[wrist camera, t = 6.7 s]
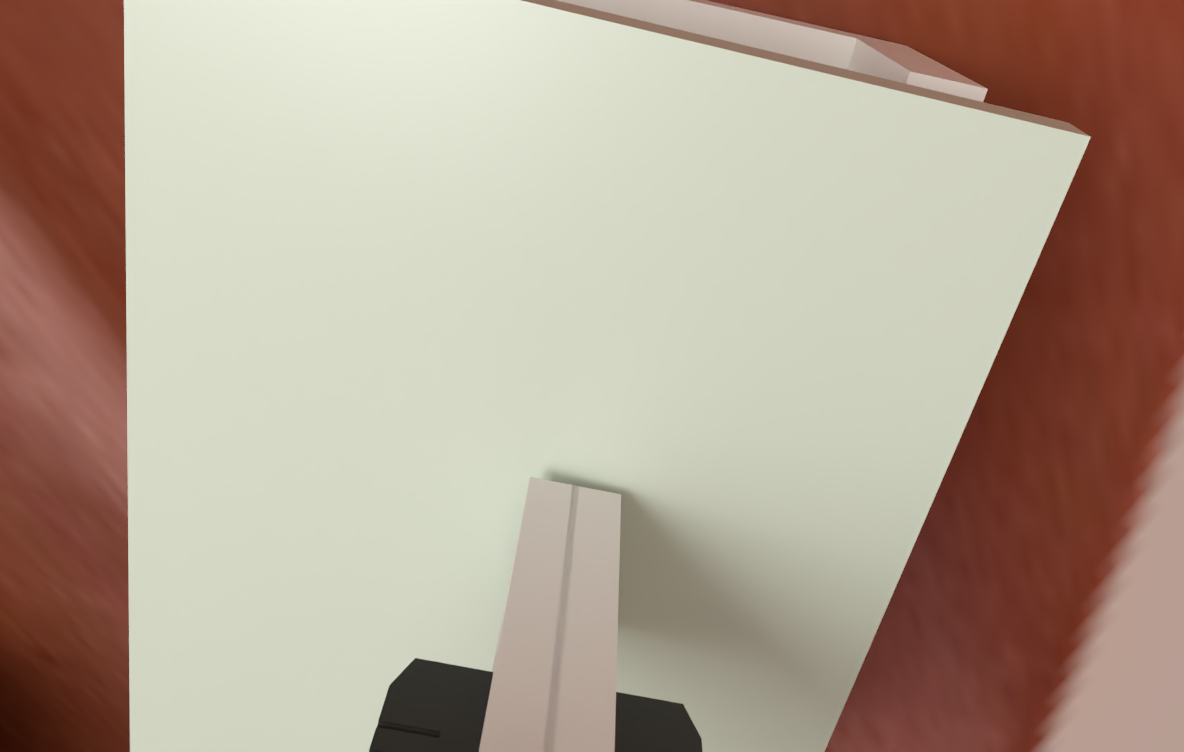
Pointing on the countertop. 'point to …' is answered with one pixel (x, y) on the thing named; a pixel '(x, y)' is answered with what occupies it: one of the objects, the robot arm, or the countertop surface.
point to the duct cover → (538, 349)
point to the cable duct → (796, 41)
